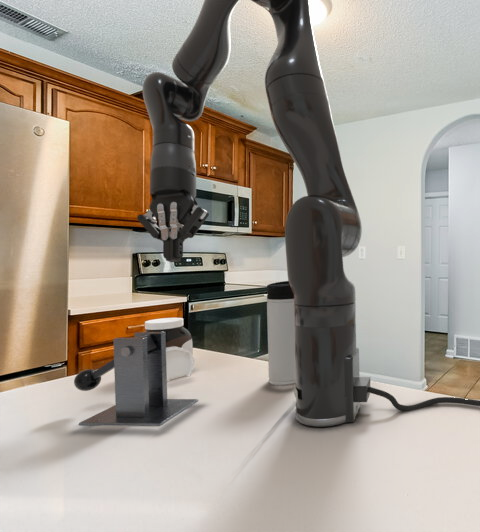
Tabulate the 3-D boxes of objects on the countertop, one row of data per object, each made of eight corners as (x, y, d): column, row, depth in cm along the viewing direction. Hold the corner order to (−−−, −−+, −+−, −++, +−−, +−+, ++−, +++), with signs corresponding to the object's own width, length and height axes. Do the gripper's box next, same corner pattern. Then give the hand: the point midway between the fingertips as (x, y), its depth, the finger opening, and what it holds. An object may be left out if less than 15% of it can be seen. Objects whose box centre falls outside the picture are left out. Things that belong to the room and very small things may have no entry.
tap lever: (75, 398, 56) (64, 379, 56) (93, 390, 59) (83, 373, 59) (146, 354, 55) (134, 335, 55) (161, 348, 58) (150, 331, 58)
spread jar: (167, 368, 83) (166, 316, 83) (214, 369, 82) (213, 316, 81) (120, 386, 71) (118, 326, 71) (173, 389, 70) (172, 327, 69)
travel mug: (311, 382, 72) (309, 279, 72) (284, 393, 67) (281, 281, 66) (289, 377, 75) (287, 278, 75) (261, 387, 70) (259, 281, 69)
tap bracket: (78, 431, 53) (75, 342, 52) (128, 406, 62) (125, 329, 61) (160, 432, 52) (157, 341, 52) (198, 406, 61) (196, 329, 61)
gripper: (125, 169, 68) (122, 261, 65) (195, 160, 68) (196, 252, 65) (154, 185, 76) (152, 269, 72) (217, 177, 75) (219, 261, 72)
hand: (173, 260), depth 68 cm, fingers closed
